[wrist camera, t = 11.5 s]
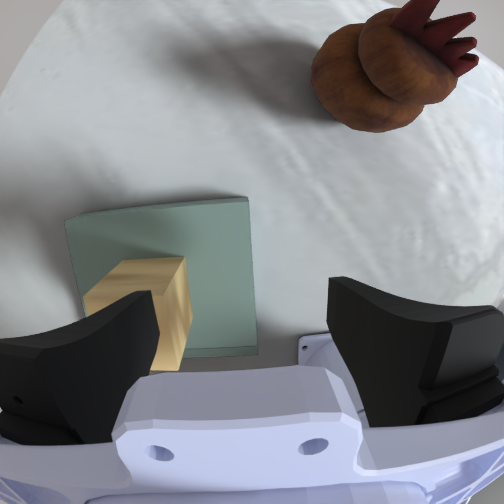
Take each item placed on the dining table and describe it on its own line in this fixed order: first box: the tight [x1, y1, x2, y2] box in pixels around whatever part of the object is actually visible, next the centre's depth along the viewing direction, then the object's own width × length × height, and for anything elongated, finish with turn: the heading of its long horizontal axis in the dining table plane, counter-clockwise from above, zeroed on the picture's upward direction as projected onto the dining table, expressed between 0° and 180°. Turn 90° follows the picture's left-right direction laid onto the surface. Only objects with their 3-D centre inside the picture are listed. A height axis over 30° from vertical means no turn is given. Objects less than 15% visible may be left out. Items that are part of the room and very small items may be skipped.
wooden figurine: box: [311, 0, 479, 133], centre depth 12 cm, size 7×6×15 cm
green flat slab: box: [64, 197, 258, 358], centre depth 21 cm, size 11×13×3 cm
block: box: [83, 257, 193, 371], centre depth 17 cm, size 4×4×6 cm
